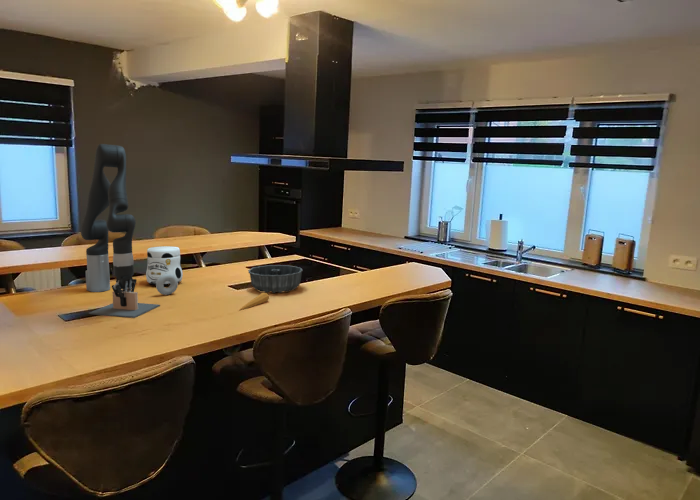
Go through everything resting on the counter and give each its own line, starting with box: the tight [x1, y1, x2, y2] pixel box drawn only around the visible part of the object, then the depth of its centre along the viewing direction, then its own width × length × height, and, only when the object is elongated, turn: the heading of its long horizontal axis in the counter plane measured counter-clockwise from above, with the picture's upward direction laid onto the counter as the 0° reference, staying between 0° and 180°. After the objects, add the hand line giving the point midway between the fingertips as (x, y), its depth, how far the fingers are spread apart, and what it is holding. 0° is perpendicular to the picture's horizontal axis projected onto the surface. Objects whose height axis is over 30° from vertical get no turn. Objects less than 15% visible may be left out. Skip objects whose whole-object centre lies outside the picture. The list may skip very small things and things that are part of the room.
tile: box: [112, 290, 139, 310], centre depth 206 cm, size 10×2×7 cm, turn 79°
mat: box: [88, 302, 161, 319], centre depth 207 cm, size 20×18×1 cm
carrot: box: [238, 292, 270, 311], centre depth 218 cm, size 20×4×4 cm, turn 152°
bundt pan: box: [247, 264, 303, 294], centre depth 247 cm, size 26×26×10 cm
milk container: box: [145, 245, 184, 286], centre depth 253 cm, size 17×17×18 cm
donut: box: [155, 274, 179, 296], centre depth 232 cm, size 10×4×10 cm, turn 130°
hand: (125, 305), depth 206 cm, fingers closed
